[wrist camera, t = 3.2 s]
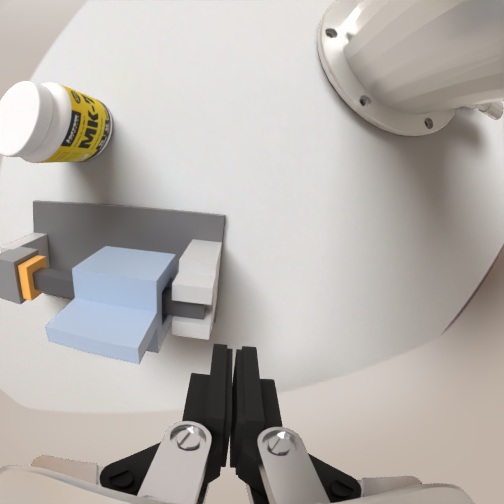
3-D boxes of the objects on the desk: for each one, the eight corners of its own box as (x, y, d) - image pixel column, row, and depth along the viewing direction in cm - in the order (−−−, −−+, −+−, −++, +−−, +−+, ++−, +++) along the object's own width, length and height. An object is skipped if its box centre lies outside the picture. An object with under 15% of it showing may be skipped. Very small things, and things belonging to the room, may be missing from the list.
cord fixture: (224, 215, 19) (216, 240, 13) (215, 319, 22) (206, 378, 15) (35, 200, 18) (-22, 216, 12) (42, 290, 20) (-3, 326, 14)
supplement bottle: (115, 156, 18) (44, 154, 10) (64, 166, 18) (-13, 174, 10) (114, 93, 16) (49, 60, 8) (63, 107, 16) (-10, 91, 8)
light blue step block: (175, 254, 16) (134, 312, 10) (174, 314, 18) (143, 391, 11) (105, 245, 16) (38, 292, 9) (109, 303, 17) (56, 368, 10)
